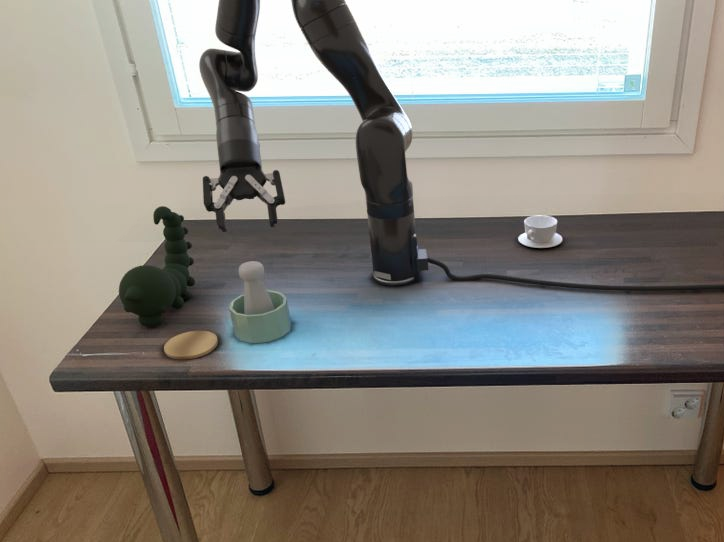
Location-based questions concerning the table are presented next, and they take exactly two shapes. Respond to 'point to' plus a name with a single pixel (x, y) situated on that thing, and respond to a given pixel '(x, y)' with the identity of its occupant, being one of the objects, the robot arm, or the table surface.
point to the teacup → (540, 232)
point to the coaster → (190, 345)
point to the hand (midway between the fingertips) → (248, 227)
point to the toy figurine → (160, 275)
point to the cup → (261, 320)
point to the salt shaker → (255, 289)
